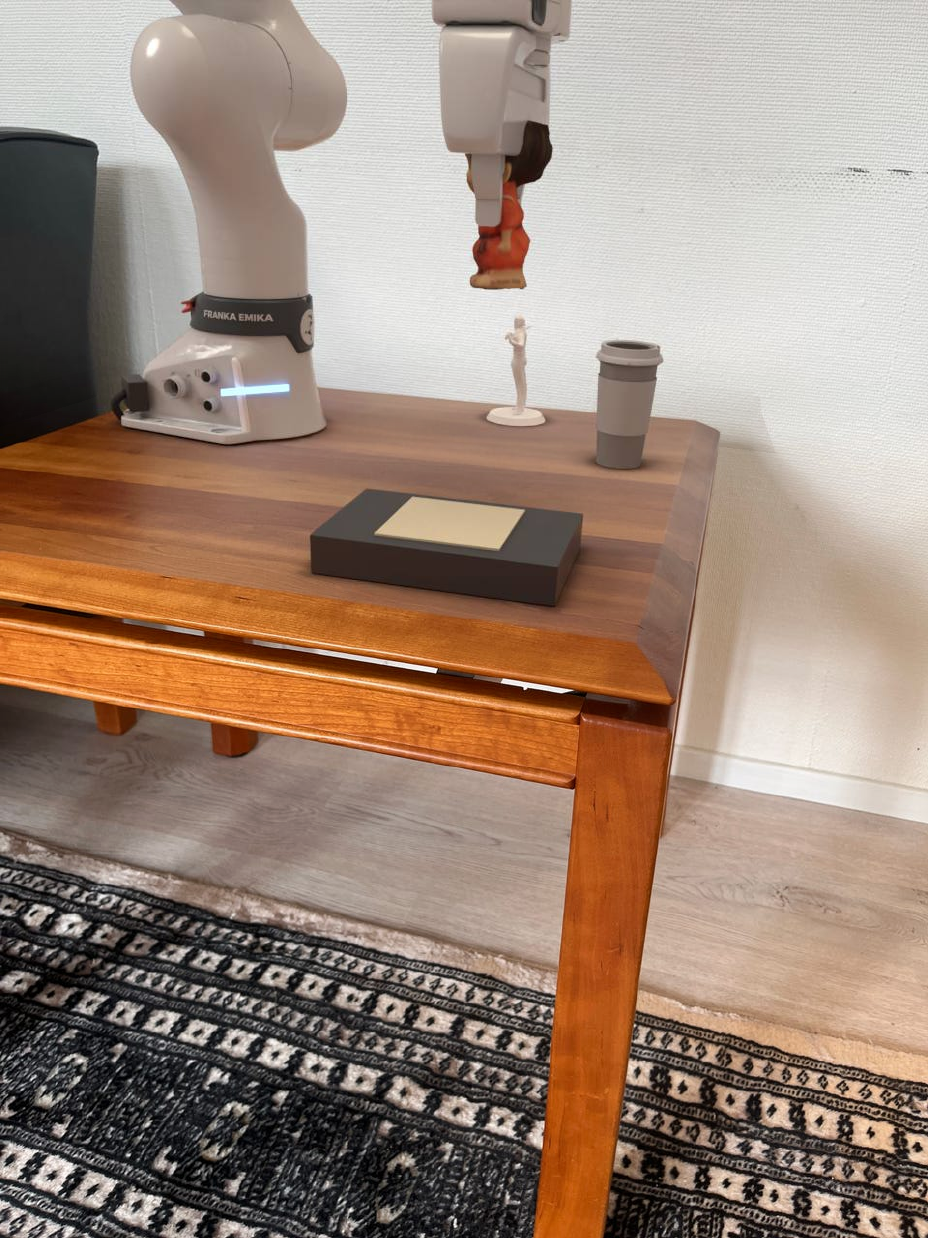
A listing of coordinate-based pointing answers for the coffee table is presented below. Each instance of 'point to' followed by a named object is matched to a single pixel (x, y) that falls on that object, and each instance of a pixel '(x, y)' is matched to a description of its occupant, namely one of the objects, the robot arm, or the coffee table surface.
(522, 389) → the figurine
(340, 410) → the coffee table surface
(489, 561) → the block
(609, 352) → the cup
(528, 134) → the figurine
